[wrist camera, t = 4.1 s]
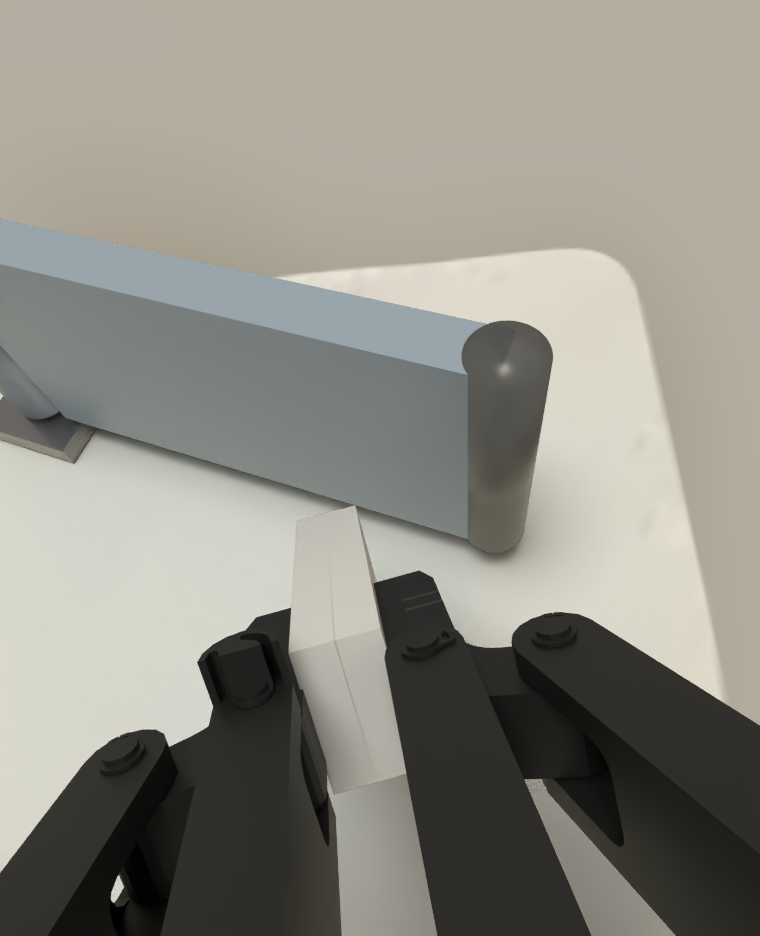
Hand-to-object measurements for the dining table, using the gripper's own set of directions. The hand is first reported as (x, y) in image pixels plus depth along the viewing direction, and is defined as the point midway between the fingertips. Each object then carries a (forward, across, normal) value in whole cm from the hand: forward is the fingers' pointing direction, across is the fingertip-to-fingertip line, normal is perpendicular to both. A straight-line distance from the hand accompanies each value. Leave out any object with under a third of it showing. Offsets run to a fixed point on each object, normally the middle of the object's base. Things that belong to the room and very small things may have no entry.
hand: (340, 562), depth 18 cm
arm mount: (+14, -10, +4) cm, 18 cm away
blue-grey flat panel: (+9, -3, +2) cm, 10 cm away
